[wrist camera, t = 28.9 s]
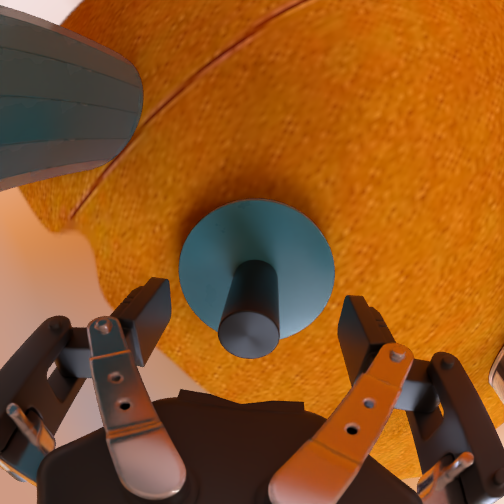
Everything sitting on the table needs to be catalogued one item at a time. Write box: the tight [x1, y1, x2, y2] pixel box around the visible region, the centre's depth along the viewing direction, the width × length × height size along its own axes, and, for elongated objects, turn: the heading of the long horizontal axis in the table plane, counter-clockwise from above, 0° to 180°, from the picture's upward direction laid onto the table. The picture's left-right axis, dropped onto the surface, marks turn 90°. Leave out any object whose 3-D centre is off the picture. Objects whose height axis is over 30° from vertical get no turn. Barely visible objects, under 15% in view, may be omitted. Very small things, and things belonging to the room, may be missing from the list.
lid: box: [179, 198, 335, 359], centre depth 13 cm, size 9×9×6 cm
